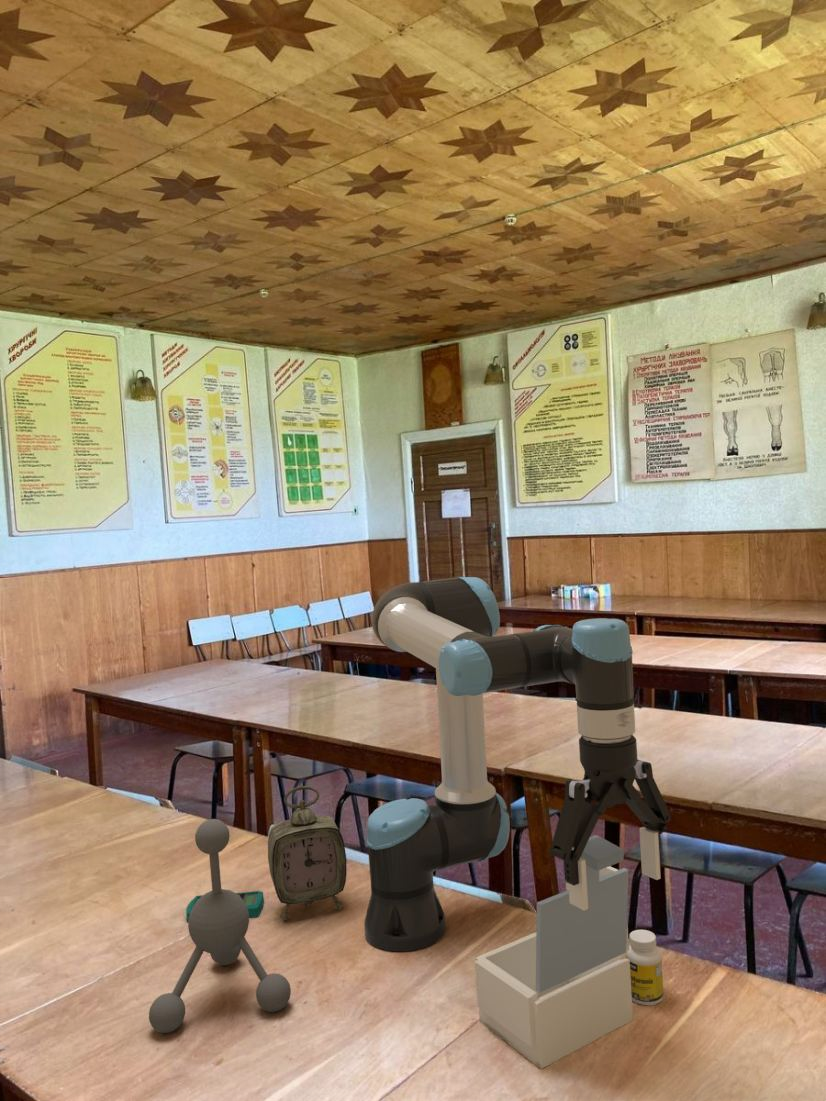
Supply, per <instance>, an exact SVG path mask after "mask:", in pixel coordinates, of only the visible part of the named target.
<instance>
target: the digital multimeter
mask: <svg viewBox="0 0 826 1101" xmlns="http://www.w3.org/2000/svg"><path fill="white" fill-rule="evenodd" d="M235 893H236V894H238V895H239V896H240V897H241V898H242V899H243V901H244V902H245V903H246V906H247V908H248V913H249V919H250V918H257V917H259V915H260V914H261V911H262V910H263V907H264V902H265V900H264V892H263V891H261V890H253V891H244V892H243V891H242V892H235ZM203 895H204V894H203ZM203 895H201V894H200V895H196V896H195V897H193V899H191V900H190V901H189V903H188V904H187V906H186V911H185V912H186V921H187V923H188V920H189V915H190V912H191V910H192V907H193V906H194V904H195V903H196V902H197V900H198V899H199V898H200V897H202V896H203Z"/></svg>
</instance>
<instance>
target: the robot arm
mask: <svg viewBox="0 0 826 1101" xmlns="http://www.w3.org/2000/svg"><path fill="white" fill-rule="evenodd" d="M499 609H500V608H499V606H498V602H497V600H496V597H495V594H494V592H493V591H492V589H491V587H490V586H489V585H488V583H487V582H486V581H484V580H483V578H482V579H481V578H479V577H476V576H455V577H448V578H440V579H439V578H438V579H432V580H424V581H415V582H414V581H413V582H406V583H401V584H399V585H396V586H394V587H393V588H390V589H389V590H388V591H386V592H385V593H384V594H383V595H381V597H380V598H379V599H378V600H377V602H376V603H375V606H374V607H373V610H372V613H371V614H372V616H371V626H372V630H373V632H374V634H375V637H376V638H377V639H378V641H379V642H380V643H382V644H383V645H384V646H385V647H386V648H389V649H390V650H392V651H395V652H399V653H405V652H406V653H409V654H411V655H412V656H414V657H416V658H417V659H420V660H421V661H423V662H425V663H426V664H428V665H430V666H432V667H433V668H435V675H436V694H437V695H436V696H437V712H438V713H437V714H438V716H437V717H438V728H439V730H438V732H439V749H440V767H441V783H440V784H439V785H438V786H437V787H436V789H435V790H434V804H429V805H428V803H427V802H426V801H425V800H423V799H421V798H416V797H415V798H413V797H412V798H409V799H407V798H401V799H396V800H392V801H389V802H386V803H384V804H382V805H381V806H379V807H377V808H376V809H374V810H373V812H372V813H371V814H370V815H369V817H368V819H367V822H366V829H367V830H366V831H367V832H366V834H367V835H366V845H367V850H368V851H367V852H368V862H369V863H368V865H369V877H370V898H369V901H368V905H367V909H366V913H365V914H366V915H365V917H364V924H363V925H364V926H363V927H364V936H365V937H364V938H365V939H366V940H367V942H368V943H369V944H370V945H372V946H373V947H376V948H378V949H381V950H384V951H392V952H411V951H416V950H419V949H424V948H426V947H430V946H431V945H433V944H435V943H436V942H439V941H440V939H442V938H443V937H444V935H445V934H446V931H447V924H446V923H447V921H446V920H447V919H446V915H445V911H444V909H443V907H442V904H441V902H440V899H439V897H438V894H437V892H436V889H435V887H434V883H435V882H434V872H435V871H439V870H444V869H447V868H453V867H457V866H461V865H467V864H471V863H474V862H475V863H476V862H483V861H485V860H486V859H490V858H494V857H496V856H498V855H500V854H501V853H502V852H503V851H504V849H505V848H506V846H507V844H508V841H509V837H510V830H511V828H510V815H509V813H508V812H507V809H508V807H507V804H506V801H505V800H504V798H503V797H502V795H500V794H499V793H497V792H496V787H495V786H494V785H493V784H492V783H490V782H489V781H488V774H487V772H488V771H487V750H486V749H487V748H486V734H485V732H486V730H485V711H484V710H485V709H484V706H485V705H484V694H486V693H492V692H493V693H494V692H498V691H505V690H510V689H511V690H512V689H517V688H524V687H530V686H535V685H536V686H537V685H544V684H550V683H556V682H565V683H568V684H572V685H575V694H576V695H575V696H576V713H577V730H578V731H577V732H578V734H579V735H580V737H579V739H578V749H579V761H580V764H581V766H582V768H583V771H584V775H583V779H582V780H573V779H567V780H566V781H565V786H564V788H565V789H564V800H563V804H562V807H561V811H560V813H559V814H560V815H559V818H558V821H557V824H556V827H555V832H554V835H553V839H552V842H551V845H550V849H549V853H550V855H552V856H553V857H556V858H558V859H560V860H562V861H563V870H564V873H563V874H564V879H565V883H566V882H567V883H568V885H569V901H570V904H572V905H574V906H576V907H578V908H580V909H582V910H587V909H588V895H587V879H586V862H585V859H582V858H580V857H581V855H582V853H583V851H584V849H585V846H586V844H587V842H588V840H589V838H590V837H591V835H592V833H593V832H594V829H595V827H596V825H597V823H598V820H599V819H600V817H601V816H603V815H604V814H605V813H606V810H607V809H610V808H613V807H615V805H623V804H626V806H627V807H628V808H629V809H630V810H631V811H632V813H633V814H634V815H635V816H636V817H637V818H638V819H639V820H640V822H641V823H642V824H643V826H642V827H640V828H639V845H640V861H641V862H640V863H641V864H640V865H641V874H642V875H645V876H646V877H649V878H651V879H653V880H656V881H658V880H660V879H662V878H661V862H660V861H661V859H660V852H661V849H662V840H661V832H662V833H665V832H666V831H667V828H668V826H667V824H668V823H670V822H671V820H672V815H671V813H670V811H669V809H668V806H667V804H666V802H665V800H664V797H663V796H662V793H661V791H660V789H659V787H658V785H657V782H656V780H655V778H654V772H653V766H652V763H651V762H647V761H645V760H641V759H638V748H637V746H638V745H637V744H638V743H637V738H636V737H635V736H634V734H635V733H636V717H635V714H636V713H635V701H634V700H635V698H634V696H635V693H634V692H635V691H634V670H633V668H634V666H633V652H634V651H633V646H631V636H630V635H631V634H630V628H629V626H628V623H627V622H625V621H624V620H622V619H619V618H607V617H605V618H601V617H599V618H587V619H581V620H579V621H577V622H575V623H574V624H573V626H572V628H571V627H568V626H563V625H561V624H553V625H552V624H544V625H540V626H537V628H534V629H533V631H531V630H530V631H526V632H518V633H511V634H504V635H502V634H501V635H497V634H498V633H499V628H500V625H501V624H500V623H501V615H500V610H499ZM634 782H635V783H636V785H637V787H638V789H639V791H640V792H639V791H638V790H637V788H636V787H635V786H634ZM641 796H642V797H641ZM592 802H593V803H592ZM666 823H667V824H666ZM572 847H574V850H572Z"/></svg>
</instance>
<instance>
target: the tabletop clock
mask: <svg viewBox="0 0 826 1101" xmlns="http://www.w3.org/2000/svg"><path fill="white" fill-rule="evenodd" d="M302 790H303V791H304V790H310V791H313V792H314V793H315V794H316V798H315V799H313V800H312V801H309V802H306V801H305V800H304V799H301V800H299V803H298V804H291V803H289V802H288V801H287V798H288V797H289V796H290V795H291V794H292V793H294V792H297V791H302ZM319 799H320V792H319V791H318V789H317V788H315V787H314V786H311V785H300V786H295V787H293V788H292V789H290V790H288V791H287V793H286V794H285V795H284V798H283V802H284V804H285V805H286V806H287V807H289V808H291V809H296V810H295V811H293V813H292V814H291V816H290V819H287V820H283V821H280V822H278V823H276V824H274V825H272V826H271V827H270V830H269V832H268V838H267V861H268V866H269V867H268V868H269V874H270V877H271V880H272V883H273V887H274V890H275V894H276V896H277V898H278V900H279V902H280V903H281V904H285V909H284V911H283V912H282V913H281V915H280V918H281V920H282V921H287V920H289V918H290V914H289V909H290V906H291V905H298V904H299V905H300V904H304V905H306V906H310V905H311V904H312V903H314V902H318V901H322V900H327V899H328V898H332V899H333V901H334V907H335V909H336V910H338V911H340V910H342V909H343V908H344V907H343V906H344V904H343V901H341V900H338V899H337V895H339V894H340V893H342V892H343V891H344V890H345V886H346V882H347V859H348V858H347V852H346V847H345V846H346V845H345V842H344V838H343V835H342V833H341V831H340V829H339V828H338V826H337V824H336V822H335V821H334V819H333V817H332V816H329V815H324V814H320V815H319V814H317V815H316V814H315V812H314V811H313V810H312V809H311V808H310V806H312V805H314V804H316V803H317V801H319Z"/></svg>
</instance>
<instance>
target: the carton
mask: <svg viewBox="0 0 826 1101" xmlns="http://www.w3.org/2000/svg"><path fill="white" fill-rule="evenodd" d="M618 870H619V869H618V868H615V867H612V866H609V867H606V868H604V869H601V870H599V878H600V877H602V876H605V875H607V874H610V873H613V872H615V871H618ZM567 890H569V885H568V883H567V882H566V881H565V891H567ZM628 927H629V926H628V923H627V943H626V952H628V951H629V946H630V942H629V928H628ZM474 973H475V988H476V1003H477V1004H476V1006H477V1008H478V1011H479V1012H478V1013H479V1022H480V1023H481V1024H482V1025H483V1026H485V1028H488V1029H489V1030H490V1031H491V1032H493V1033H494V1034H495V1035H497V1036H498V1037H499V1038H500V1039H502V1040H503V1041H504V1042H505V1043H506V1044H508V1045H510V1047H512V1048H513V1049H515V1050H516V1051H517V1052H518V1053H520V1055H522V1056H524V1057H525V1058H526V1059H527V1060H529V1061H530V1062H531V1063H532V1064H534V1066H537V1067H538V1068H539V1069H540V1070H542V1069H544V1068H545V1067H548V1066H549V1065H552V1064H553V1063H555V1062H557V1061H560V1060H561V1059H563V1058H565V1057H567V1056H568V1055H570V1054H572V1053H574V1052H576V1051H578V1050H580V1049H582V1048H584V1047H586V1046H587V1045H589V1044H591V1043H592V1042H594V1041H597V1040H598V1039H600V1038H602V1037H604V1036H606V1035H607V1034H610V1033H611V1032H613V1031H615V1030H617V1029H620V1028H621V1027H623V1026H624V1025H626V1024H628V1023H630V1022H632V1021H634V1015H633V1014H634V1012H633V1000H632V994H631V977H630V960H629V959H627V958H626V956H625V953H624V954H621V955H619V956H617V957H615V958H613V959H611V960H609V961H607V962H605V963H602V964H600V965H598V966H596V967H594V968H592V969H590V970H588V971H585V972H583V973H581V974H579V975H577V976H575V977H573V978H571V979H568V980H566V981H564V982H562V983H560V984H558V985H556V986H554V987H552V988H549V989H547V990H545V991H543V992H541V993H539V992H538V991H536V931H535V932H533V933H530V934H528V935H526V936H524V937H521V938H519V939H516V940H514V941H511V942H509V943H507V944H504V945H502V946H499V947H498V948H494V949H492V950H490V951H488V952H485V953H483V954H481V955H480V954H479V955H478V956H476V957H475V960H474Z"/></svg>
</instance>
